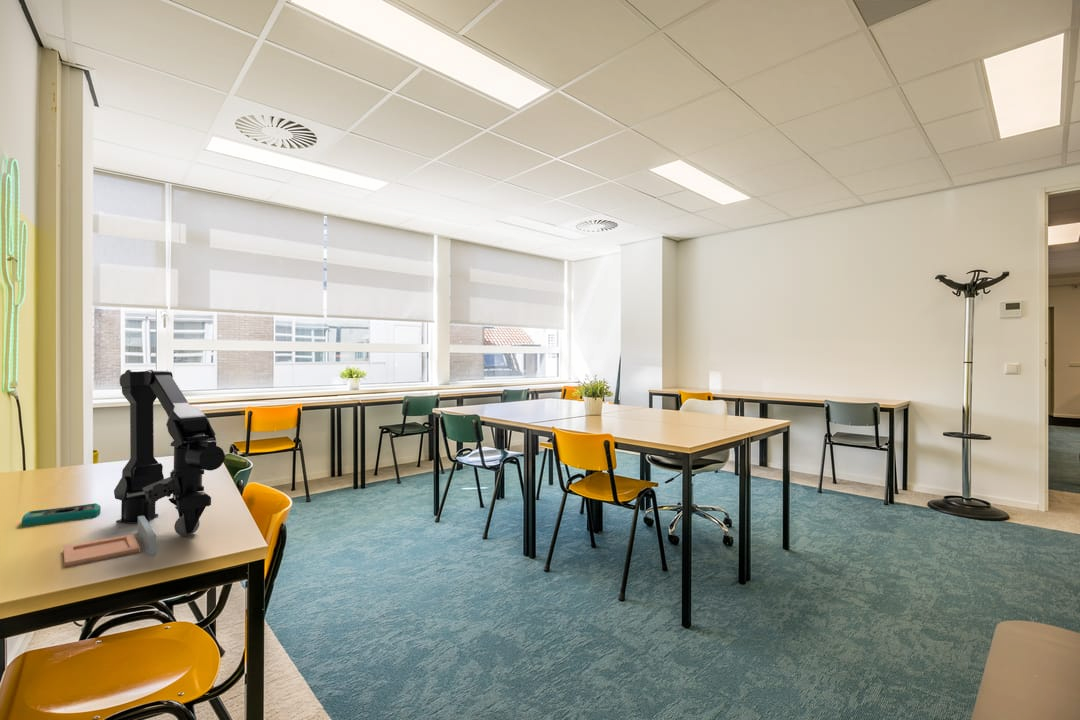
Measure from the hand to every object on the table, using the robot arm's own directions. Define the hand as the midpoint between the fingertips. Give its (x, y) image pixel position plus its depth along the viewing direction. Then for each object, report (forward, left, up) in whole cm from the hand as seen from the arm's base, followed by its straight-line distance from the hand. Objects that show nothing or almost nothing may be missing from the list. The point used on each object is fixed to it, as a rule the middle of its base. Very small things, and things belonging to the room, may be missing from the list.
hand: (187, 530), depth 121 cm
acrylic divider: (-5, -5, -1) cm, 8 cm away
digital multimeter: (-41, +11, -2) cm, 43 cm away
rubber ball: (0, 0, +1) cm, 1 cm away
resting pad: (-11, -11, -1) cm, 16 cm away
